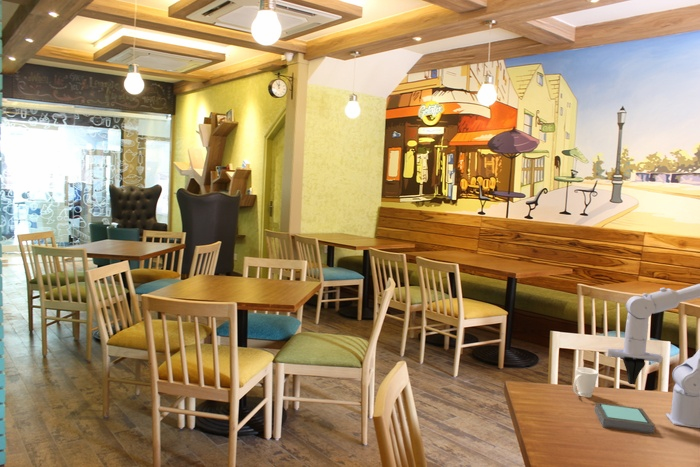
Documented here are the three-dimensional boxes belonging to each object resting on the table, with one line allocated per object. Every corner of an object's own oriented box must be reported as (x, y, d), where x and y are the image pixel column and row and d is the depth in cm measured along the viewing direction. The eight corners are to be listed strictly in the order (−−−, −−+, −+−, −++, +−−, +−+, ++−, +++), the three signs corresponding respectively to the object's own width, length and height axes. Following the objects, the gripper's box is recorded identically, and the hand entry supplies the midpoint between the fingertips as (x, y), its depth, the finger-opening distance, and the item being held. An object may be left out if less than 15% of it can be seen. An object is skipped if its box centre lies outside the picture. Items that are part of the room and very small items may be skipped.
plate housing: (641, 416, 168) (642, 408, 168) (653, 434, 156) (654, 425, 155) (594, 410, 171) (595, 402, 171) (602, 427, 158) (603, 418, 158)
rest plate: (637, 414, 167) (638, 409, 167) (647, 427, 157) (647, 422, 157) (600, 409, 169) (601, 404, 169) (607, 422, 159) (608, 416, 159)
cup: (600, 396, 184) (603, 372, 183) (583, 402, 178) (585, 376, 177) (580, 389, 189) (583, 365, 189) (563, 394, 183) (565, 370, 183)
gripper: (659, 337, 170) (654, 382, 171) (606, 331, 173) (602, 375, 174) (666, 343, 163) (661, 390, 164) (611, 337, 166) (606, 383, 167)
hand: (631, 383), depth 169 cm, fingers closed
